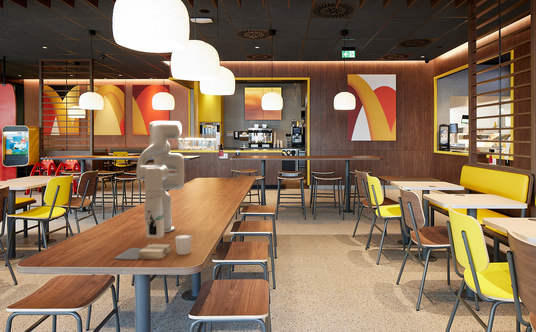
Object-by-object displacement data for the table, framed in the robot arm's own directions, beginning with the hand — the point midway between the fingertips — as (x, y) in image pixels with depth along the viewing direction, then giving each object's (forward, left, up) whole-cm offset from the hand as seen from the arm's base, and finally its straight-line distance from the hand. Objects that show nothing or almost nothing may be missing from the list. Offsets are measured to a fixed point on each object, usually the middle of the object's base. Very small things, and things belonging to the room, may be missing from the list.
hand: (155, 232), depth 155 cm
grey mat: (+13, -4, -6) cm, 15 cm away
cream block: (0, 0, -2) cm, 2 cm away
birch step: (+13, +6, -6) cm, 16 cm away
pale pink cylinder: (+9, +17, -6) cm, 20 cm away
